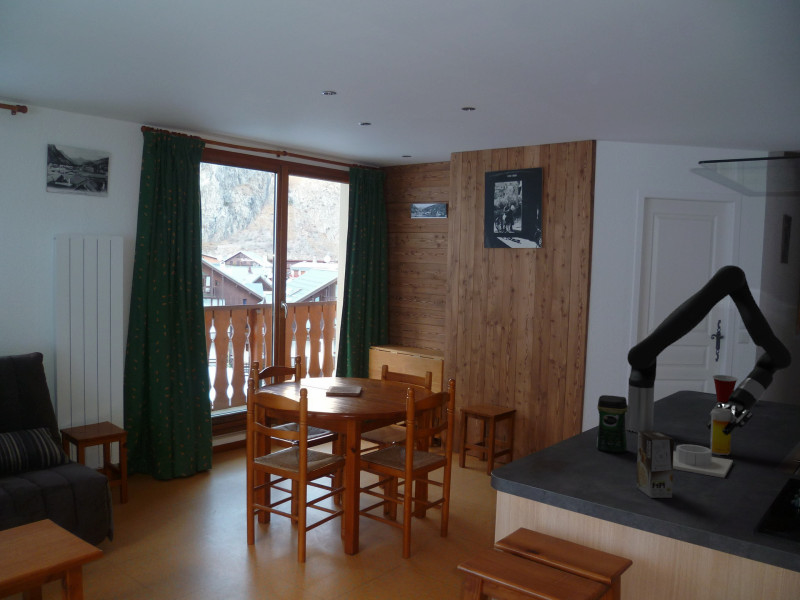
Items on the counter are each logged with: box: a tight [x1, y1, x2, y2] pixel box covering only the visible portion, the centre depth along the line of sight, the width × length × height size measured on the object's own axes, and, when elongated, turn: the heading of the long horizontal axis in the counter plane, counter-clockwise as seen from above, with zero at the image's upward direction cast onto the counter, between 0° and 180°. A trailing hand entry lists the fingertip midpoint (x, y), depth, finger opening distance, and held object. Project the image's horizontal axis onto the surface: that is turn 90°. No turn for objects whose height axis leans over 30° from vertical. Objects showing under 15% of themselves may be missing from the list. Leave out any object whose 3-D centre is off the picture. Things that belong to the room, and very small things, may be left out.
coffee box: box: [636, 430, 675, 499], centre depth 175 cm, size 9×6×16 cm
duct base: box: [673, 444, 733, 479], centre depth 202 cm, size 20×18×5 cm
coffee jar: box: [596, 394, 628, 453], centre depth 217 cm, size 10×8×19 cm
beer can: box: [709, 407, 732, 456], centre depth 215 cm, size 6×6×15 cm
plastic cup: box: [712, 374, 739, 404], centre depth 304 cm, size 11×11×12 cm
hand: (716, 430), depth 214 cm, fingers open, 6 cm apart
